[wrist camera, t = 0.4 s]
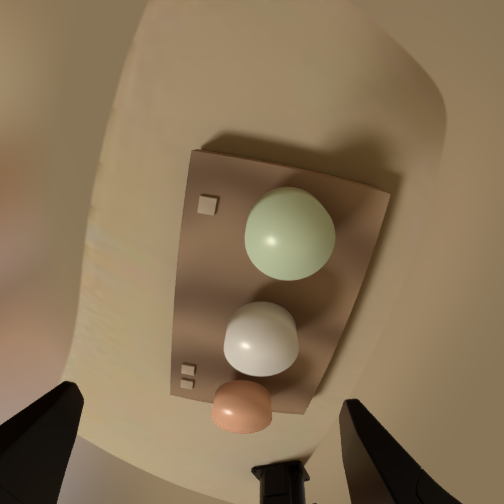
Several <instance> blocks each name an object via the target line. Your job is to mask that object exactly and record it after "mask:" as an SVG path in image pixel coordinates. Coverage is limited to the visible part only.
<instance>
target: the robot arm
mask: <svg viewBox="0 0 504 504" xmlns="http://www.w3.org/2000/svg"><path fill="white" fill-rule="evenodd" d="M83 405H84V398H83V396H82V394H81V392H80V390H79V388H78V386H77V385H76V383H74V382H70V381H64V382H62V383H61V384H59V385H58V386H57V387H55V388H54V389H52V390H51V391H49V392H48V393H46V394H45V395H43V396H42V397H41V398H39V399H38V400H36V401H35V402H33V403H32V404H30V405H29V406H28V407H26V408H25V409H23V410H22V411H20V412H19V413H17V414H16V415H14V416H13V417H12V418H10V419H9V420H7V421H6V422H4V423H3V424H1V425H0V504H57V500H58V496H59V493H60V489H61V485H62V482H63V478H64V475H65V471H66V468H67V464H68V461H69V457H70V455H71V451H72V448H73V445H74V442H75V439H76V435H77V431H78V426H79V422H80V417H81V413H82V409H83ZM339 424H340V434H341V446H342V458H343V463H344V469H345V474H346V479H347V484H348V489H349V494H350V498H351V504H462V503H461V502H459V501H458V500H457V499H456V498H454V497H453V496H452V495H450V494H449V493H448V492H446V490H444V489H443V488H442V487H441V486H440V485H438V484H437V483H436V482H435V481H434V480H433V479H432V478H431V477H430V476H429V475H428V474H427V473H426V472H425V471H424V470H423V469H421V466H420V465H419V464H418V463H417V462H416V461H415V460H414V459H413V458H412V457H411V456H410V455H409V454H408V453H407V452H406V451H405V449H403V447H402V446H401V445H400V444H399V443H398V442H397V441H396V440H395V439H394V438H393V437H392V436H391V434H390V433H389V432H388V431H387V430H386V429H385V428H384V427H383V426H382V425H381V424H380V423H379V422H378V420H377V419H376V418H375V417H374V416H373V415H372V414H371V413H370V412H369V411H368V410H367V408H366V407H365V406H364V405H363V404H362V403H361V402H360V401H359V400H358V399H347V400H345V401H344V403H343V406H342V409H341V412H340V415H339ZM251 472H252V473H253V474H254V476H255V477H256V478H257V479H258V480H259V481H260V504H306V502H305V489H304V482H305V481H309V480H310V477H309V475H308V473H307V472H306V470H305V468H304V466H303V464H302V463H301V462H300V461H296V462H290V463H284V464H278V465H272V466H265V467H257V468H252V469H251ZM314 504H316V503H314Z"/></svg>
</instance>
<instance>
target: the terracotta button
mask: <svg viewBox="0 0 504 504" xmlns="http://www.w3.org/2000/svg"><path fill="white" fill-rule="evenodd" d="M212 419H213V421H214V423H215V424H216V425H217V426H219V427H220V428H222V429H224V430H226V431H229V432H233V433H240V434H248V433H255V432H258V431H261V430H263V429H265V428H266V427H267V426H268V425H269V424H270V423H271V420H272V405H271V394H270V392H269V391H268V390H267V389H266V388H265V387H264V386H262V385H260V384H258V383H256V382H252V381H247V380H235V381H230V382H227V383H224V384H222V385H221V386H220V387H219V388H218V389H217V390H216V392H215V396H214V402H213V408H212Z"/></svg>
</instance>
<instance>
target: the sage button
mask: <svg viewBox="0 0 504 504" xmlns="http://www.w3.org/2000/svg"><path fill="white" fill-rule="evenodd" d="M334 244H335V228H334V224H333V221H332V219H331V217H330V215H329V214H328V212H327V211H326V210H325V208H324V207H323V206H322V205H321V203H320V202H319V201H318V200H317V199H316V198H315V197H314V196H313V195H312V194H310V193H308V192H307V191H305V190H302V189H299V188H295V187H280V188H276V189H273V190H270V191H268V192H267V193H265V194H263V195H262V196H261V197H260V198H259V199H258V200H257V201H256V202H255V203H254V204H253V206H252V208H251V209H250V212H249V214H248V218H247V223H246V230H245V247H246V251H247V254H248V256H249V258H250V260H251V261H252V263H253V264H254V265H255V266H256V267H257V268H258V269H259V270H260V271H261V272H263V273H264V274H266V275H268V276H270V277H272V278H275V279H279V280H299V279H303V278H305V277H308V276H310V275H312V274H314V273H315V272H317V271H318V270H319V269H320V268H322V267H323V266H324V264H325V263H326V262H327V261H328V259H329V258H330V256H331V254H332V251H333V249H334Z"/></svg>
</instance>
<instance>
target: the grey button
mask: <svg viewBox="0 0 504 504" xmlns="http://www.w3.org/2000/svg"><path fill="white" fill-rule="evenodd" d="M298 352H299V344H298V337H297V331H296V325H295V321H294V319H293V317H292V315H291V314H290V313H289V312H288V311H287V310H286V309H285V308H283V307H281V306H279V305H277V304H274V303H271V302H253V303H249V304H246V305H244V306H242V307H240V308H238V309H237V310H236V311H235V312H234V313H233V314H232V315H231V317H230V318H229V321H228V324H227V329H226V336H225V342H224V354H225V357H226V359H227V361H228V362H229V363H230V364H231V365H232V366H233V367H234V368H235V369H237V370H238V371H240V372H242V373H245V374H248V375H252V376H271V375H275V374H278V373H280V372H282V371H284V370H286V369H287V368H289V367H290V366H291V365H292V364H293V363H294V361H295V360H296V358H297V356H298Z"/></svg>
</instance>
